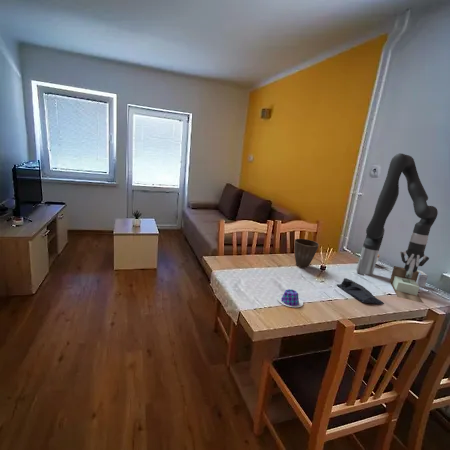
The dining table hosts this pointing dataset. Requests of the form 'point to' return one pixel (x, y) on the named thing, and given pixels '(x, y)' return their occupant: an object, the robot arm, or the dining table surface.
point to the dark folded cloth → (358, 292)
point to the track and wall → (401, 273)
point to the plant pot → (304, 252)
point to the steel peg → (411, 268)
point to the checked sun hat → (290, 298)
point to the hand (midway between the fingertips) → (409, 271)
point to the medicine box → (421, 279)
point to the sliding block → (405, 285)
